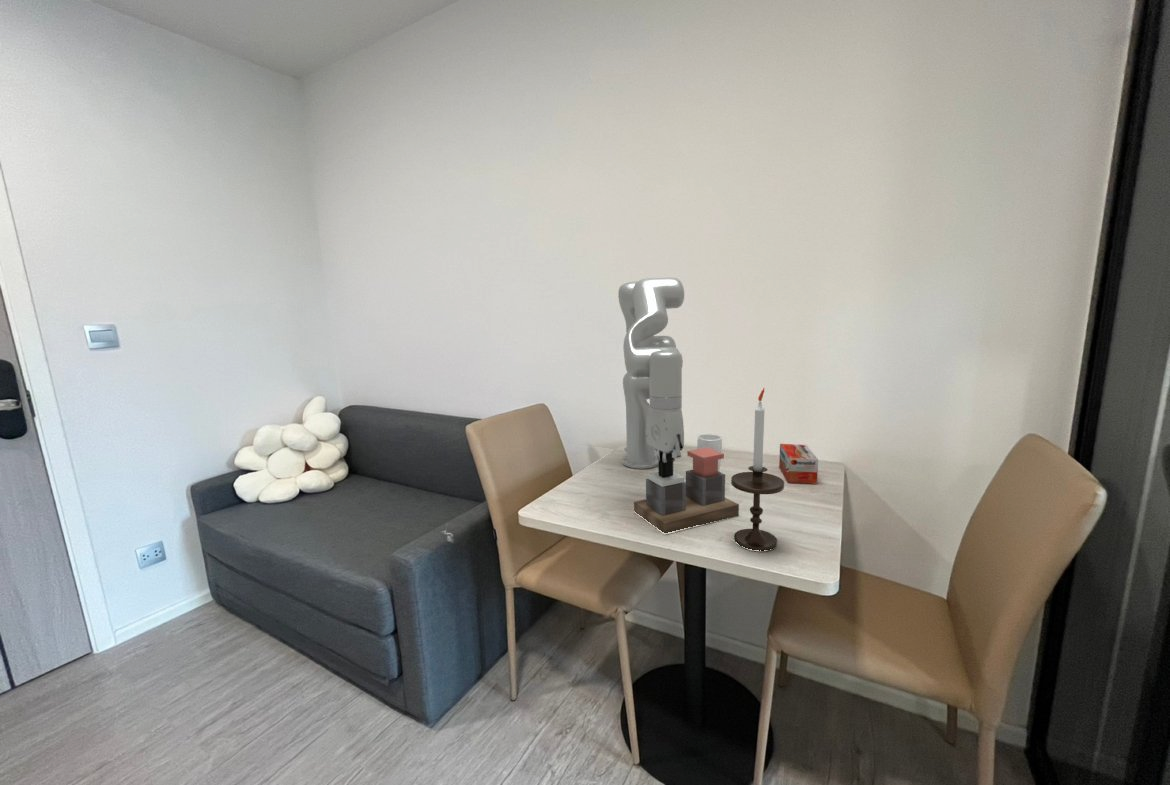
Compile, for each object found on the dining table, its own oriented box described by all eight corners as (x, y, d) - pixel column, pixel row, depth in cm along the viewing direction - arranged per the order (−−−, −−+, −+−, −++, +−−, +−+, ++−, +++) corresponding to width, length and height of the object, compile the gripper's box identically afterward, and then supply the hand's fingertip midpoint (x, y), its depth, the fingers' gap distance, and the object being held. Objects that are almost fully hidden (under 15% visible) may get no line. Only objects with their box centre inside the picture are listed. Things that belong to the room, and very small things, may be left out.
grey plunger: (647, 505, 122) (647, 473, 120) (669, 500, 124) (669, 469, 123) (662, 514, 116) (661, 482, 115) (684, 509, 119) (684, 477, 117)
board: (634, 512, 125) (633, 475, 123) (703, 496, 134) (703, 461, 132) (664, 535, 112) (664, 494, 111) (738, 515, 121) (739, 477, 120)
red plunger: (687, 481, 126) (687, 451, 124) (707, 477, 129) (707, 447, 127) (702, 489, 120) (703, 457, 119) (723, 484, 123) (723, 453, 121)
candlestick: (788, 539, 109) (796, 385, 102) (770, 559, 101) (776, 393, 94) (742, 526, 116) (746, 381, 109) (721, 543, 108) (724, 388, 102)
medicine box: (817, 485, 140) (819, 458, 138) (787, 484, 141) (788, 458, 140) (804, 468, 154) (806, 443, 153) (777, 467, 156) (778, 443, 155)
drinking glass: (718, 492, 136) (719, 441, 134) (694, 489, 139) (695, 439, 137) (722, 484, 142) (723, 434, 140) (699, 481, 145) (700, 432, 143)
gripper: (635, 399, 121) (636, 469, 124) (670, 409, 107) (670, 488, 110) (661, 396, 124) (661, 465, 127) (698, 406, 110) (697, 482, 113)
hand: (665, 475), depth 119 cm, fingers closed
